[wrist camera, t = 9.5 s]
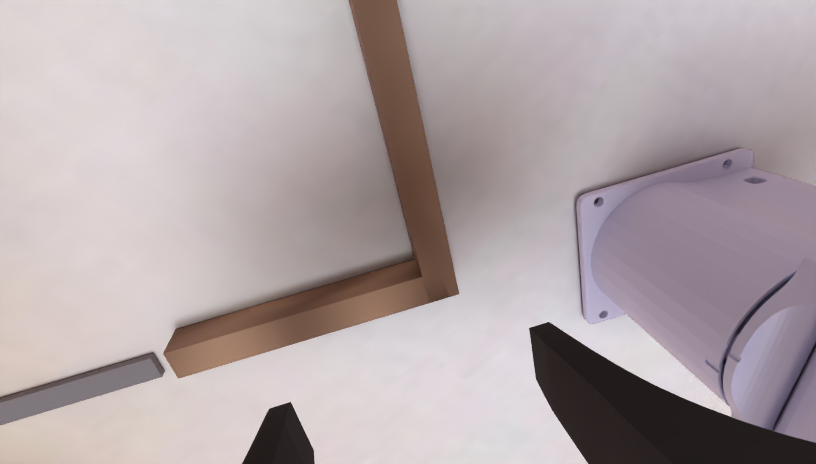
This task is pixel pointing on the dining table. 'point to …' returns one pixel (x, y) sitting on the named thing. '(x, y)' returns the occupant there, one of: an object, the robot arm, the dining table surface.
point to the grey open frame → (79, 388)
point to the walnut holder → (365, 292)
